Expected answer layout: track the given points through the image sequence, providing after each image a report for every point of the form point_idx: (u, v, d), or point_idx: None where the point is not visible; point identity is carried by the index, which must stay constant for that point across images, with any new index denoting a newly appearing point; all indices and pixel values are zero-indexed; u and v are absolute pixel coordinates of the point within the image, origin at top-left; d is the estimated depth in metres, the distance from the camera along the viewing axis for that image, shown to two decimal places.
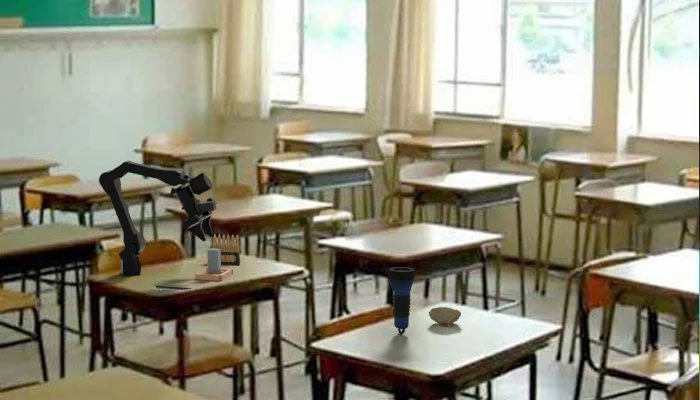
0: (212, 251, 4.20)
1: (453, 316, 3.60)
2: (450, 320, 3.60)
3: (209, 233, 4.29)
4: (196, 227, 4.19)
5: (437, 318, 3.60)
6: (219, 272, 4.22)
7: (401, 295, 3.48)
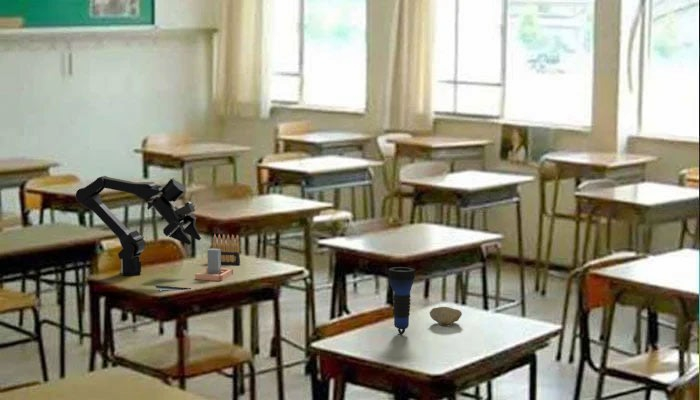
0: (212, 251, 4.20)
1: (454, 315, 3.60)
2: (451, 320, 3.60)
3: (196, 237, 4.27)
4: (178, 232, 4.17)
5: (438, 318, 3.60)
6: (219, 272, 4.22)
7: (401, 295, 3.48)
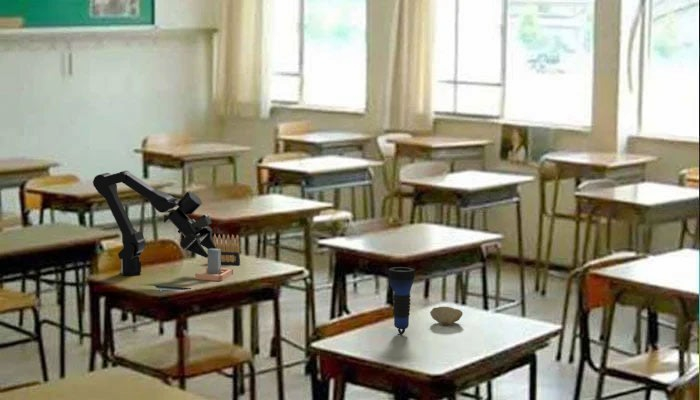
0: (212, 251, 4.20)
1: (455, 315, 3.60)
2: (451, 320, 3.60)
3: None
4: (195, 245, 4.16)
5: (438, 318, 3.60)
6: (219, 272, 4.22)
7: (401, 295, 3.48)
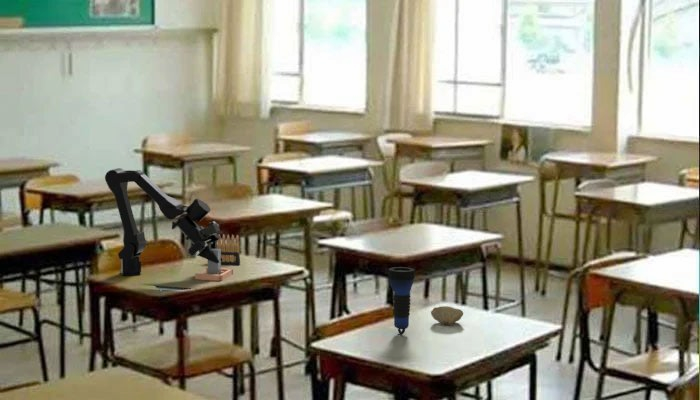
0: None
1: (455, 315, 3.61)
2: (452, 319, 3.60)
3: None
4: (206, 251, 4.19)
5: (439, 317, 3.61)
6: (219, 272, 4.22)
7: (401, 295, 3.48)
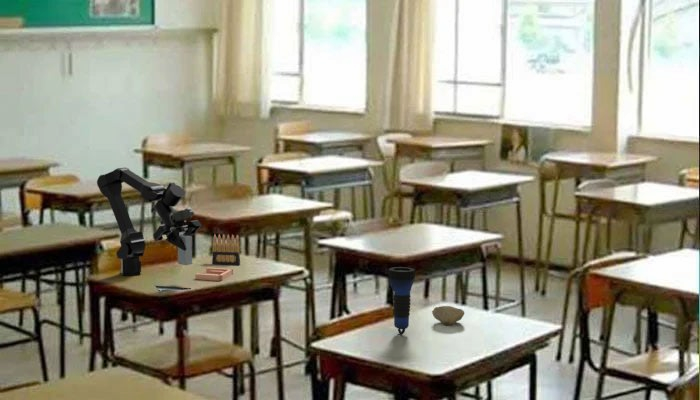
0: (181, 238, 4.09)
1: (457, 315, 3.61)
2: (453, 319, 3.61)
3: None
4: (175, 237, 4.09)
5: (440, 317, 3.61)
6: (188, 260, 4.10)
7: (402, 295, 3.48)
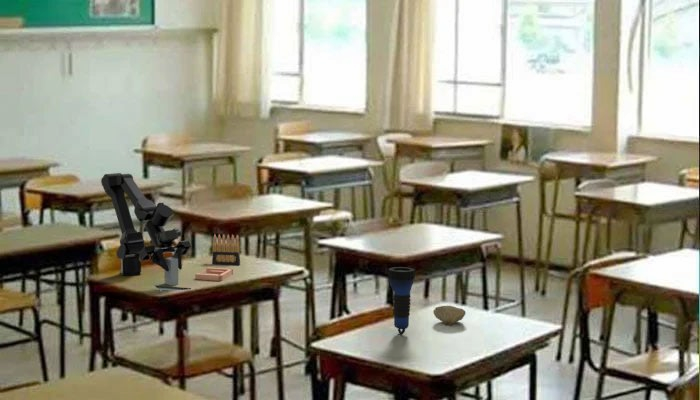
0: (167, 260, 4.08)
1: (458, 314, 3.61)
2: (454, 319, 3.61)
3: (178, 266, 4.10)
4: (159, 257, 4.07)
5: (441, 317, 3.62)
6: (174, 282, 4.08)
7: (401, 295, 3.48)
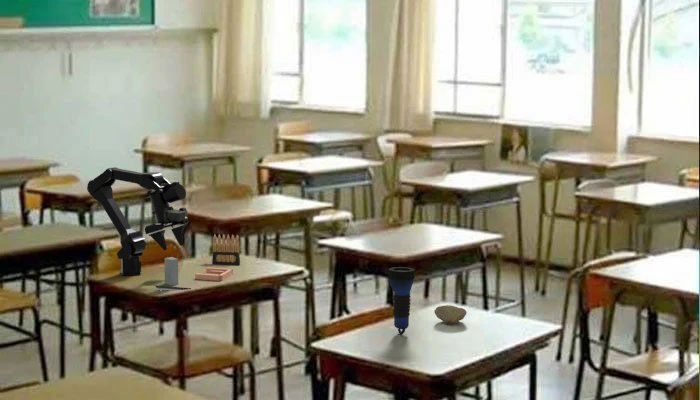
0: (167, 260, 4.08)
1: (459, 314, 3.62)
2: (455, 318, 3.62)
3: (179, 242, 4.24)
4: (158, 235, 4.16)
5: (442, 316, 3.62)
6: (174, 282, 4.08)
7: (401, 295, 3.48)
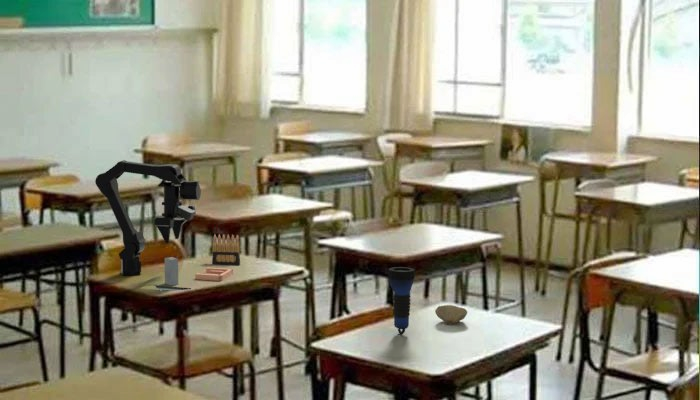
0: (167, 260, 4.08)
1: (459, 314, 3.62)
2: (456, 318, 3.62)
3: (176, 235, 4.30)
4: (165, 227, 4.20)
5: (443, 316, 3.62)
6: (174, 282, 4.08)
7: (401, 295, 3.48)
